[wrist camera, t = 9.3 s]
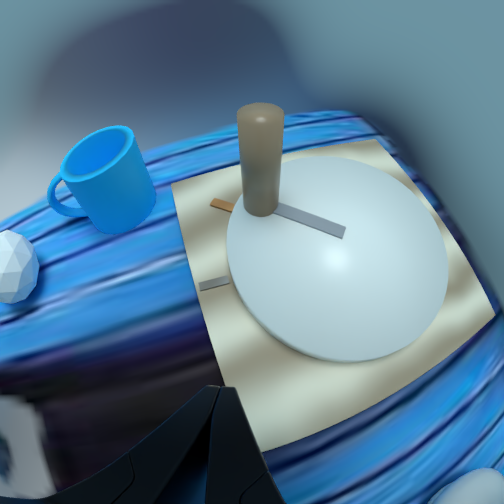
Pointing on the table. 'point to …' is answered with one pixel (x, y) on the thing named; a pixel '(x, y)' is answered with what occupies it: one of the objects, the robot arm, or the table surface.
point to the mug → (106, 181)
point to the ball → (16, 267)
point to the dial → (330, 249)
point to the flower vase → (473, 489)
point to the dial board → (287, 359)
